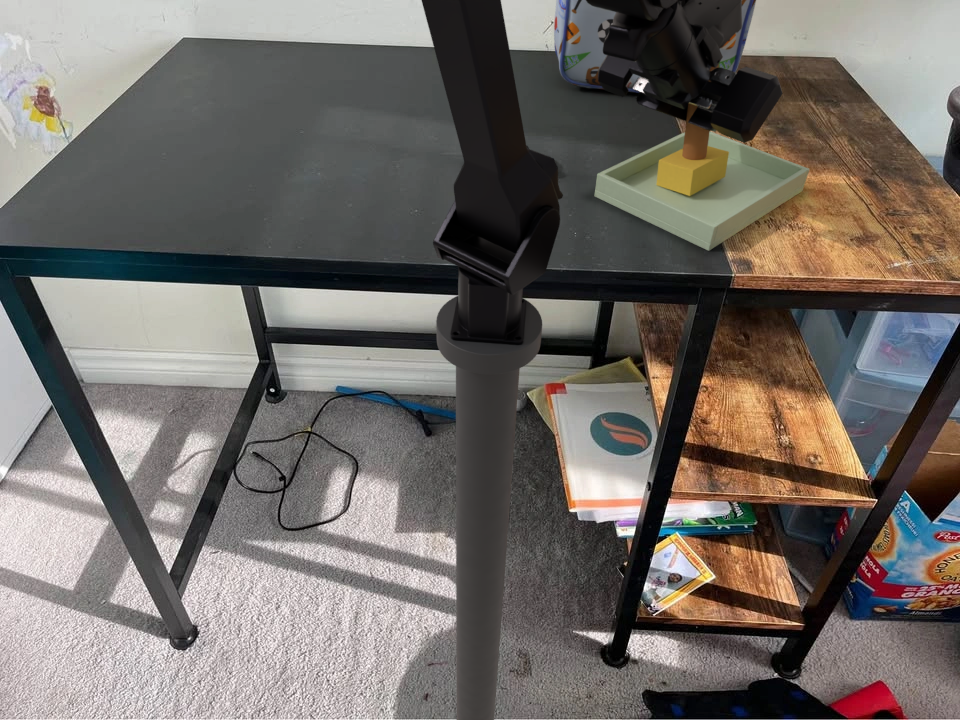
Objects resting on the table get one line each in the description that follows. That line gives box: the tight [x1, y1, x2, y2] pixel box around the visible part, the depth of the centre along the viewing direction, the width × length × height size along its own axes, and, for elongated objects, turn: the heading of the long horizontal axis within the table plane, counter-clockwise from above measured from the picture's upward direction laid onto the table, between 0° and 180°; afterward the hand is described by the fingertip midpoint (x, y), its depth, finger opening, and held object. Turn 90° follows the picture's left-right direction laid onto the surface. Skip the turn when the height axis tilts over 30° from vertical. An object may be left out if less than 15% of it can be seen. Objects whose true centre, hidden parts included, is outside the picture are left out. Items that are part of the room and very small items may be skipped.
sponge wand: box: [656, 64, 729, 196], centre depth 82 cm, size 7×4×13 cm, turn 133°
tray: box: [593, 131, 810, 251], centre depth 85 cm, size 19×15×3 cm
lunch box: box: [553, 0, 757, 94], centre depth 103 cm, size 28×10×22 cm, turn 89°
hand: (705, 123), depth 83 cm, fingers closed on sponge wand, 3 cm apart
